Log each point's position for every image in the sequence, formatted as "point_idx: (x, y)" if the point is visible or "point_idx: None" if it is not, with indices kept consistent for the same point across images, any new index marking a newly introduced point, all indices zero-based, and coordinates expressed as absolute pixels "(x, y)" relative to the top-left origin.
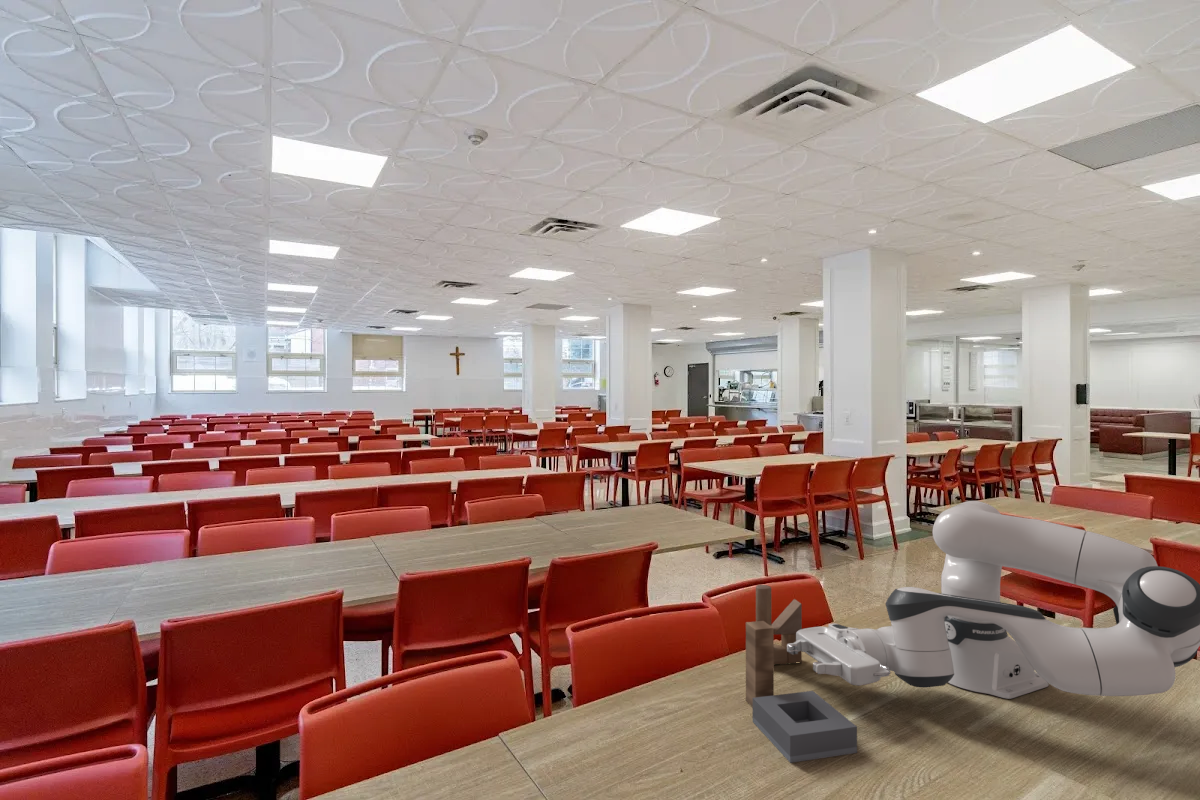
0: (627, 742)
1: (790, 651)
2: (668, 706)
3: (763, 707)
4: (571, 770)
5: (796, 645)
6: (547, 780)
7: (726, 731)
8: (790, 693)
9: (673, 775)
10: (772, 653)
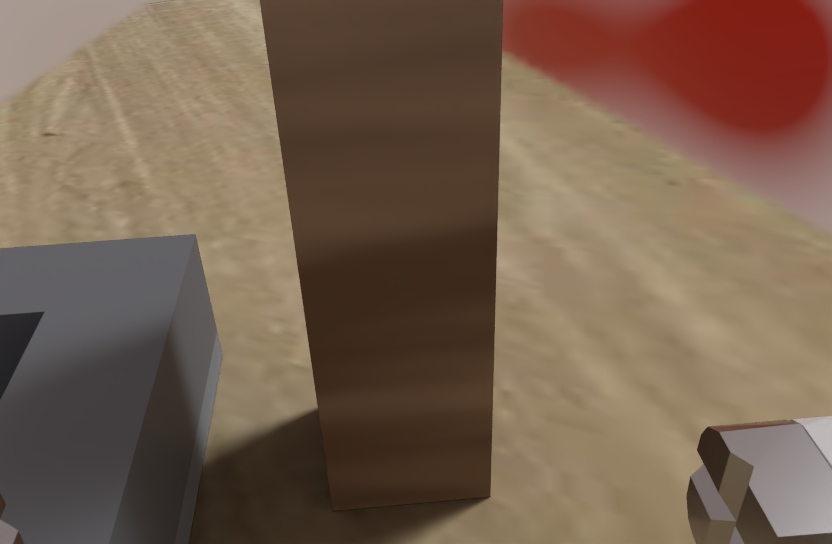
0: (250, 76)
1: (693, 473)
2: None
3: (62, 249)
4: (183, 24)
5: (782, 515)
6: (169, 8)
7: None
8: (136, 444)
9: (40, 121)
10: (277, 94)
